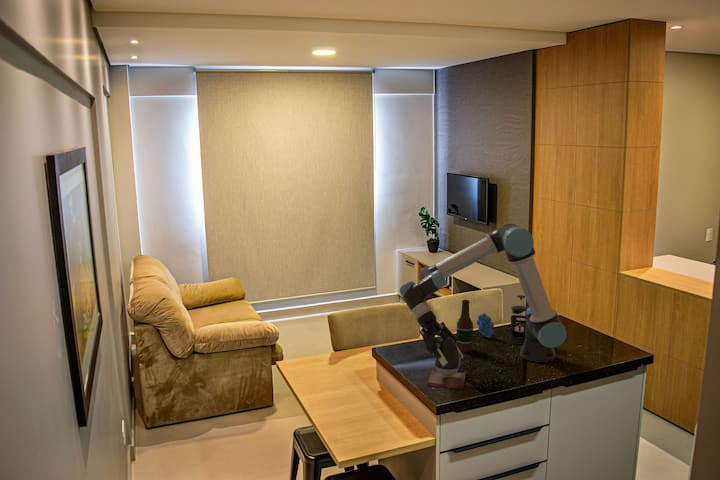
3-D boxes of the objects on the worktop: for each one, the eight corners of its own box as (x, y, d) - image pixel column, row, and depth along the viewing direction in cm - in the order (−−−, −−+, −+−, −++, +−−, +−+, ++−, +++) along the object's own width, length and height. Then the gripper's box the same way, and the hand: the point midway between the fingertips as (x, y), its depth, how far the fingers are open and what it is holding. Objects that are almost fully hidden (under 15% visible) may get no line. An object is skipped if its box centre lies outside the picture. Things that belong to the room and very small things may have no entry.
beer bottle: (454, 351, 282) (455, 301, 279) (457, 346, 289) (459, 297, 286) (470, 353, 279) (472, 303, 276) (474, 348, 287) (475, 299, 283)
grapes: (470, 335, 307) (471, 312, 305) (480, 333, 310) (481, 310, 309) (486, 341, 297) (487, 317, 295) (496, 339, 301) (497, 315, 299)
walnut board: (465, 375, 252) (465, 373, 252) (462, 388, 239) (463, 385, 238) (431, 372, 255) (432, 370, 255) (427, 385, 242) (427, 382, 242)
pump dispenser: (431, 369, 251) (432, 333, 249) (456, 368, 252) (457, 333, 250) (436, 378, 241) (437, 341, 239) (462, 377, 242) (463, 341, 240)
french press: (534, 343, 294) (536, 297, 290) (517, 345, 291) (519, 299, 287) (519, 336, 305) (521, 292, 301) (503, 338, 302) (505, 293, 298)
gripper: (436, 315, 262) (464, 359, 253) (401, 325, 247) (430, 372, 238) (446, 305, 258) (475, 350, 249) (411, 315, 243) (441, 363, 234)
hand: (453, 361), depth 243 cm, fingers closed on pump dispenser, 9 cm apart
